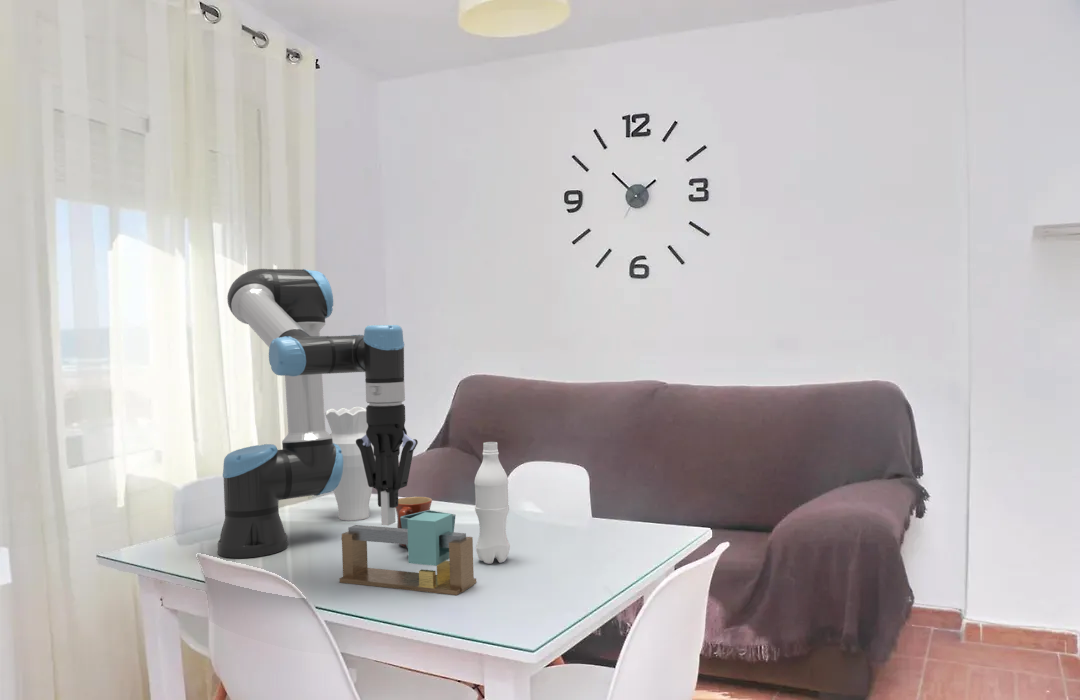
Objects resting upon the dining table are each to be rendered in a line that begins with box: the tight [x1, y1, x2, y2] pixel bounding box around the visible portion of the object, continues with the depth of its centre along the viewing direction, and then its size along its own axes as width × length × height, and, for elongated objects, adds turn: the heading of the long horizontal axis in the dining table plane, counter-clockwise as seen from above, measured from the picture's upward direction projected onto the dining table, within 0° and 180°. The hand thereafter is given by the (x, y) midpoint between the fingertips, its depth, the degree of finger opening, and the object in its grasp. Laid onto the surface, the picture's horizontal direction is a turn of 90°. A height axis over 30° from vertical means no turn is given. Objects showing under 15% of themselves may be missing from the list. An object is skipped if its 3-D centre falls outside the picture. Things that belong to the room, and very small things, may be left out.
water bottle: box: [473, 441, 511, 565], centre depth 174 cm, size 7×7×25 cm
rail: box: [338, 524, 477, 596], centre depth 160 cm, size 26×8×10 cm, turn 68°
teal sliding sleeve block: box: [407, 512, 453, 567], centre depth 158 cm, size 6×7×8 cm
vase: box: [324, 406, 375, 522], centre depth 220 cm, size 15×15×29 cm
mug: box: [395, 496, 433, 549], centre depth 188 cm, size 12×9×10 cm
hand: (388, 523), depth 162 cm, fingers closed
